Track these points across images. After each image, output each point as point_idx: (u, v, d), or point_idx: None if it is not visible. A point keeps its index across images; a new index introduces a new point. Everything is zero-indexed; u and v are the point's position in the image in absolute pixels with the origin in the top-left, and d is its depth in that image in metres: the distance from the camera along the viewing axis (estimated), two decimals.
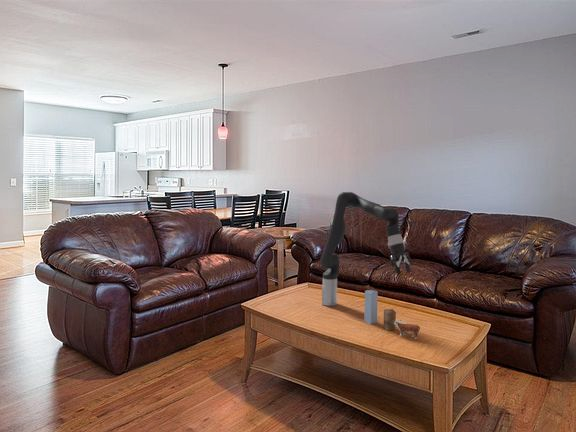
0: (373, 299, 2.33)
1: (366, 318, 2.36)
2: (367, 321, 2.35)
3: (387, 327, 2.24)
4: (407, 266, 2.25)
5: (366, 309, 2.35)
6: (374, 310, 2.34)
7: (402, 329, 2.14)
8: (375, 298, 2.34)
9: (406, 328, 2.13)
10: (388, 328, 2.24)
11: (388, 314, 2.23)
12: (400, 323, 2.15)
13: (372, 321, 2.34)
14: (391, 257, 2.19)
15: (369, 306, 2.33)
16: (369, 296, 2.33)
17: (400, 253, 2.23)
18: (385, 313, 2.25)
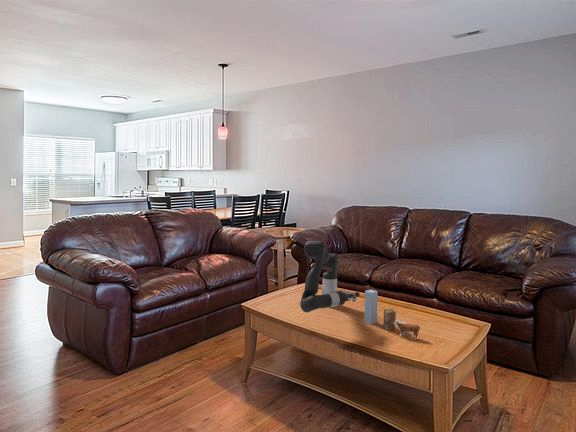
0: (373, 299, 2.33)
1: (366, 318, 2.36)
2: (367, 321, 2.35)
3: (387, 327, 2.24)
4: None
5: (366, 309, 2.35)
6: (374, 310, 2.34)
7: (402, 329, 2.14)
8: (375, 298, 2.34)
9: (406, 328, 2.13)
10: (388, 328, 2.24)
11: (388, 314, 2.23)
12: (400, 323, 2.15)
13: (372, 321, 2.34)
14: None
15: (369, 306, 2.33)
16: (369, 296, 2.33)
17: None
18: (385, 313, 2.25)
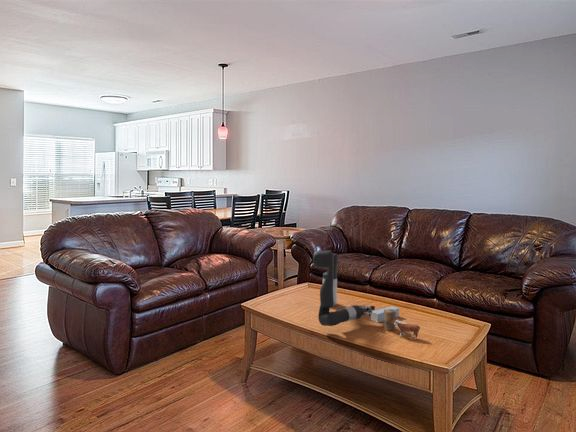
0: None
1: (376, 311, 2.40)
2: (375, 312, 2.38)
3: (387, 327, 2.24)
4: None
5: (382, 309, 2.43)
6: None
7: (402, 329, 2.14)
8: None
9: (406, 328, 2.13)
10: (388, 328, 2.24)
11: (388, 314, 2.23)
12: (400, 323, 2.15)
13: (379, 316, 2.36)
14: None
15: None
16: (393, 308, 2.45)
17: None
18: (385, 313, 2.25)
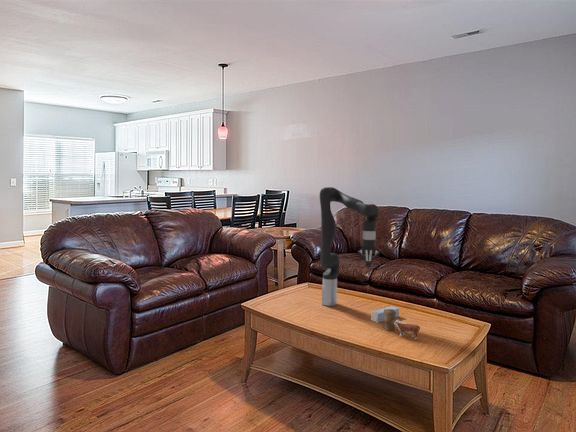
0: None
1: (376, 311, 2.40)
2: (375, 312, 2.38)
3: (387, 327, 2.24)
4: None
5: (382, 309, 2.43)
6: None
7: (402, 329, 2.14)
8: None
9: (406, 328, 2.13)
10: (388, 328, 2.24)
11: (388, 314, 2.23)
12: (400, 323, 2.15)
13: (379, 316, 2.36)
14: None
15: None
16: (393, 308, 2.45)
17: (368, 248, 2.43)
18: (385, 313, 2.25)
